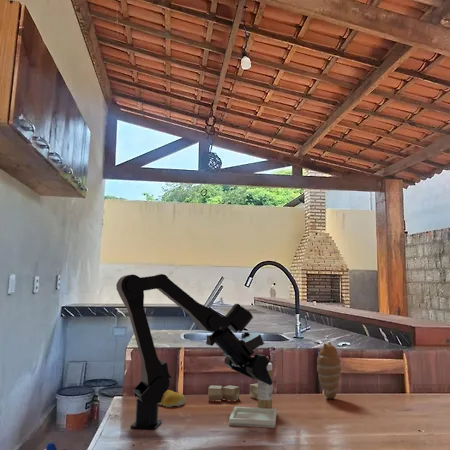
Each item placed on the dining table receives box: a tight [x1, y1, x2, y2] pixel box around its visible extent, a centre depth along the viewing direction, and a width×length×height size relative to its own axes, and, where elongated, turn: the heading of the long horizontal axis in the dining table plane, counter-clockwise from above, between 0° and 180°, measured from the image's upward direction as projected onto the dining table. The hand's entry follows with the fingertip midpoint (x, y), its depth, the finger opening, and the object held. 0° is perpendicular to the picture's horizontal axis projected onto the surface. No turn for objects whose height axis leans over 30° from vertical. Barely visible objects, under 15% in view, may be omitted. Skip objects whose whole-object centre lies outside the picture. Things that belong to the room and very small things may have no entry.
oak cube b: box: [222, 384, 240, 402], centre depth 132 cm, size 4×4×4 cm
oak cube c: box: [249, 382, 258, 400], centre depth 136 cm, size 4×4×4 cm
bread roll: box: [158, 389, 186, 408], centre depth 127 cm, size 8×9×4 cm
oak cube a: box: [207, 385, 223, 401], centre depth 132 cm, size 4×4×4 cm
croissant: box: [316, 341, 342, 400], centre depth 136 cm, size 9×8×18 cm
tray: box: [228, 406, 278, 429], centre depth 111 cm, size 12×12×2 cm
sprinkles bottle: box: [257, 362, 274, 409], centre depth 121 cm, size 5×5×13 cm
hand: (263, 380), depth 121 cm, fingers open, 9 cm apart
